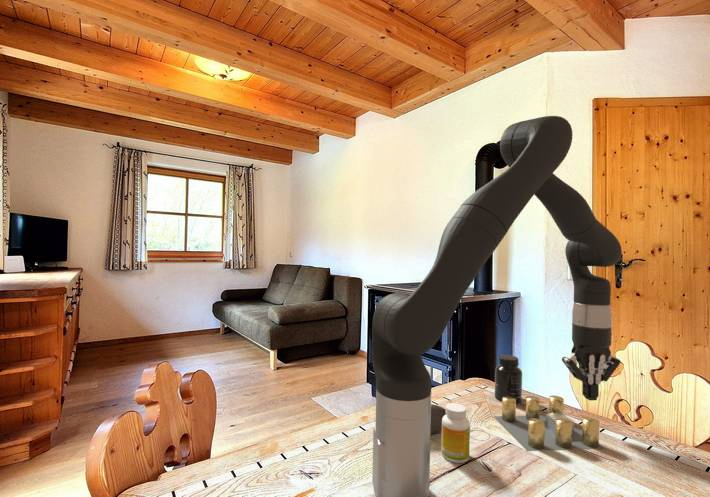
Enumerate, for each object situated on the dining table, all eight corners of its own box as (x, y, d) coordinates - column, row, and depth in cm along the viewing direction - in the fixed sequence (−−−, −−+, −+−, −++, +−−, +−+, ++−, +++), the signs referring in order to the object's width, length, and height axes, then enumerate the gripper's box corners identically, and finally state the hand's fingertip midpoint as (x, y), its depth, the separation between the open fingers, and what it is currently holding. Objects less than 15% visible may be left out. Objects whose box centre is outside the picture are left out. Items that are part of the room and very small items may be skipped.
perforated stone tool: (446, 426, 85) (447, 396, 85) (455, 438, 80) (456, 406, 80) (383, 429, 83) (384, 399, 83) (389, 442, 77) (389, 409, 77)
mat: (498, 454, 73) (498, 451, 73) (469, 419, 88) (469, 416, 88) (605, 451, 75) (605, 448, 75) (559, 417, 90) (559, 414, 90)
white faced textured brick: (556, 435, 80) (557, 421, 80) (545, 426, 84) (546, 413, 84) (573, 435, 80) (574, 421, 80) (562, 426, 84) (562, 413, 84)
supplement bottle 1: (470, 465, 69) (471, 414, 69) (441, 461, 70) (442, 411, 70) (467, 450, 75) (468, 403, 75) (440, 446, 76) (441, 400, 76)
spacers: (533, 449, 74) (533, 425, 74) (499, 416, 89) (500, 396, 89) (602, 447, 75) (602, 423, 75) (558, 415, 90) (558, 395, 90)
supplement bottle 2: (489, 398, 101) (489, 355, 101) (506, 394, 104) (507, 352, 104) (508, 408, 95) (509, 362, 95) (527, 403, 98) (528, 359, 98)
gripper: (575, 327, 78) (574, 407, 78) (632, 326, 79) (631, 405, 80) (553, 320, 86) (552, 393, 86) (606, 319, 87) (605, 391, 87)
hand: (590, 399), depth 83 cm, fingers closed
